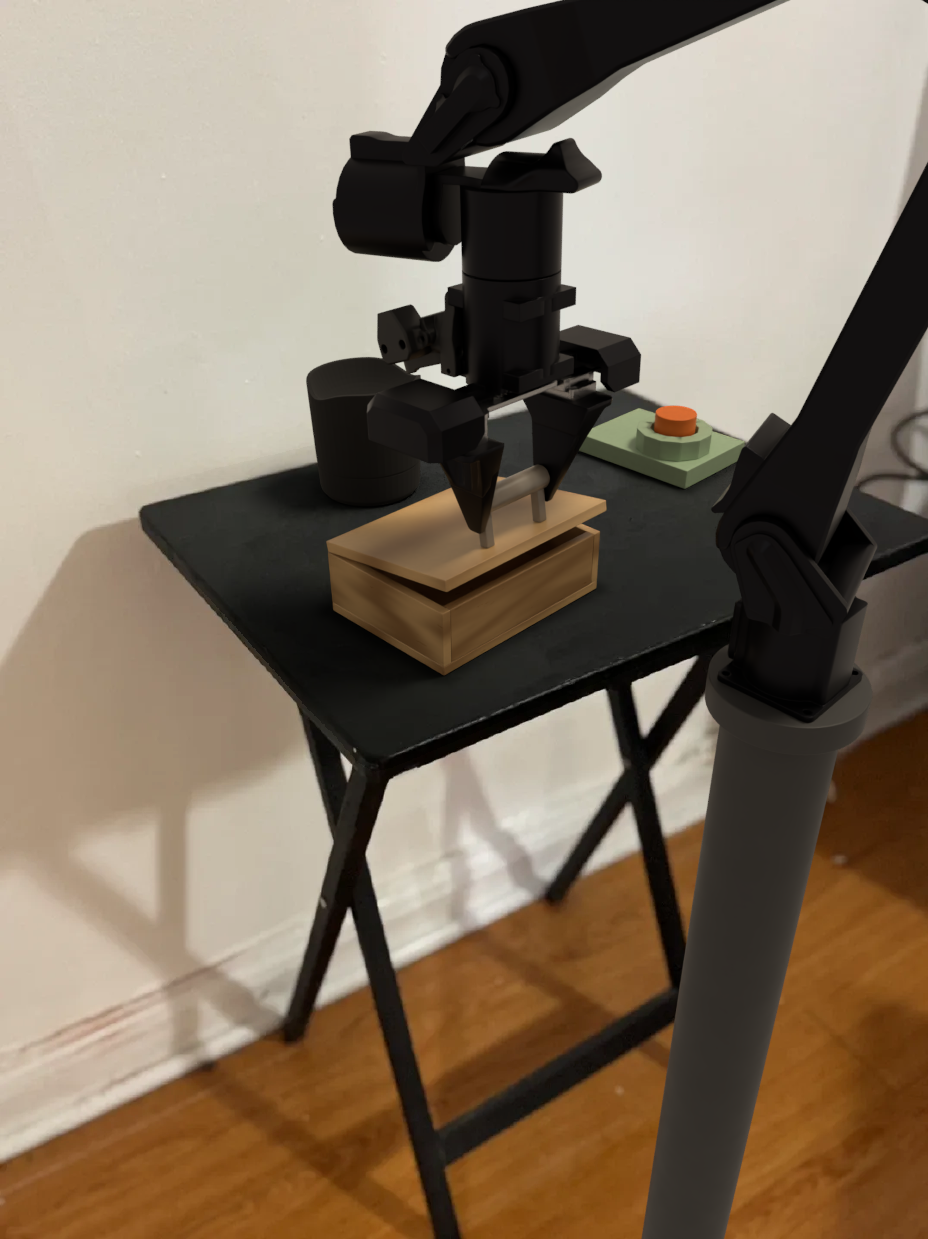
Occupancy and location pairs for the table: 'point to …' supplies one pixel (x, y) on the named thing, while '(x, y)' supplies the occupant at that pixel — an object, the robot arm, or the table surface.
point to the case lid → (466, 531)
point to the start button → (675, 421)
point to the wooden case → (467, 600)
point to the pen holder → (357, 433)
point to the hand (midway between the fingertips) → (511, 514)
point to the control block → (662, 449)
